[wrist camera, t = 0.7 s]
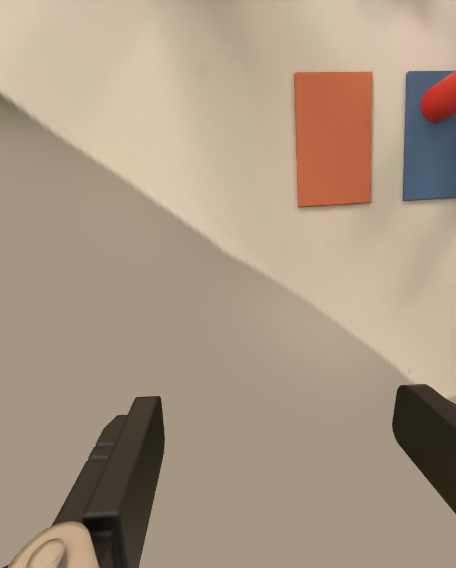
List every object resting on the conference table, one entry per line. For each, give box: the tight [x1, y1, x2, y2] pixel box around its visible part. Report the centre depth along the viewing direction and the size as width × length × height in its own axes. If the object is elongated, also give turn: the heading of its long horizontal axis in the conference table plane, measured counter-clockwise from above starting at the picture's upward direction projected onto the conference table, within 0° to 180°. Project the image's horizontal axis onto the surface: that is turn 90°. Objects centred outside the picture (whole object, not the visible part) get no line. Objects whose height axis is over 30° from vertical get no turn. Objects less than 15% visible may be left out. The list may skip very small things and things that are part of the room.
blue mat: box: [403, 71, 456, 201], centre depth 36 cm, size 16×14×1 cm
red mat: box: [294, 72, 372, 207], centre depth 34 cm, size 16×10×1 cm, turn 4°
